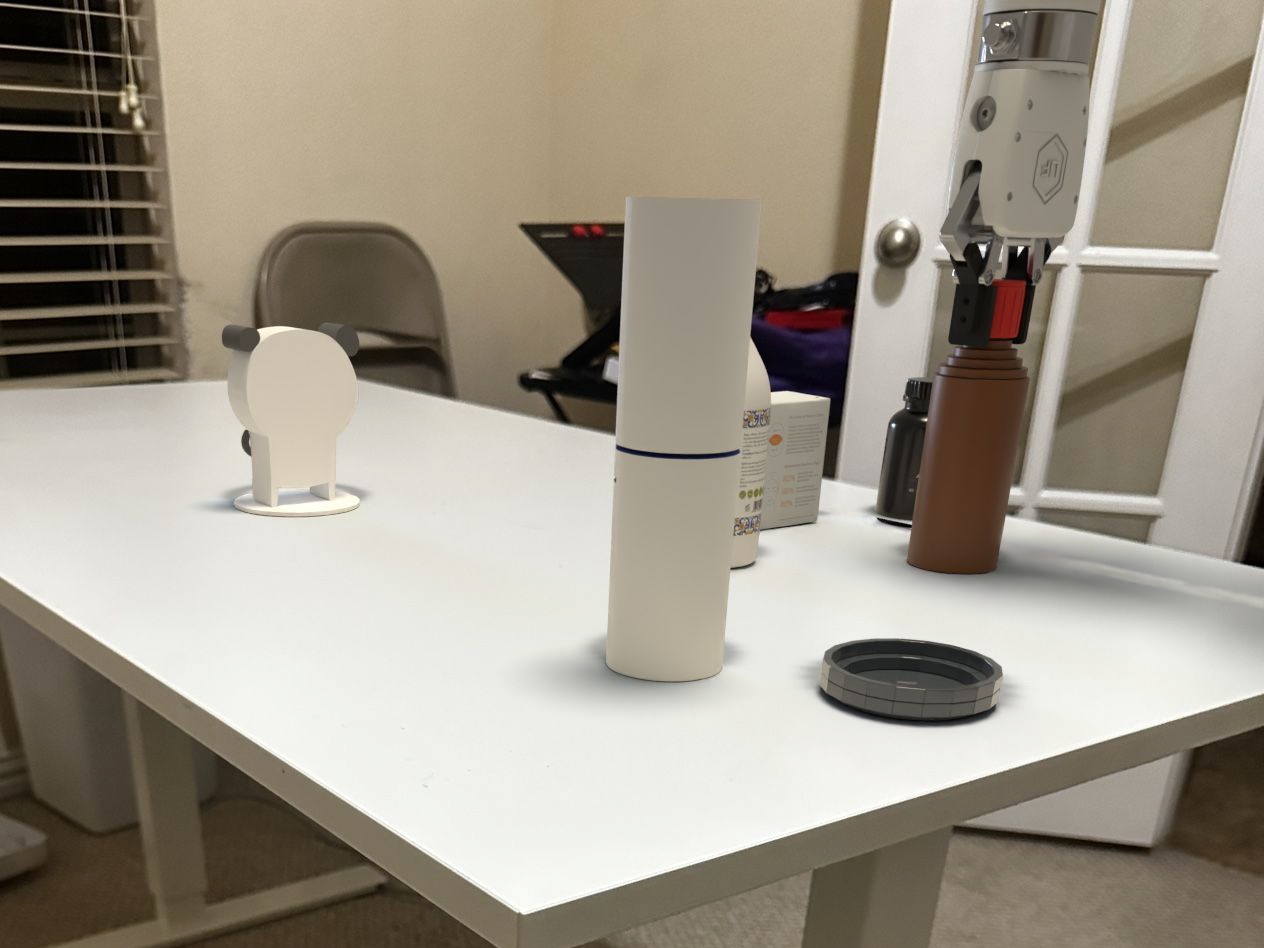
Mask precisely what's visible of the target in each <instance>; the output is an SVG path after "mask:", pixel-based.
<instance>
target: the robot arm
mask: <svg viewBox="0 0 1264 948" xmlns="http://www.w3.org/2000/svg"><path fill="white" fill-rule="evenodd" d="M1101 3H1102V0H984V2H983V6H982V7H983V8H982V15H981V16H982V18H981V21H980V28H979V36H978V44H977V49H976V56H975V64H974V70H973V76H972V79H971V82H970V86H969V89H968V93H967V96H966V100H965V104H964V107H963V113H962V115H961V116H962V117H961V121H960V125H959V130H958V134H957V139H956V144H955V149H954V154H953V160H952V165H951V171H950V177H949V183H948V184H949V185H948V191H947V200H946V211H945V213H946V215H945V220H944V222H943V223H942V226H941V228H940V230H939V234H938V235H939V236H938V237H939V240H940V242H941V244H942V245H943V247H944V248H945V250H946V251H947V253H948V254H949V260H950V262H951V265H952V267H953V271H952V274H951V275H952V276H951V280H952V283H953V284H955V290H954V297H953V304H952V309H951V310H952V311H951V317H950V324H949V330H948V335H947V341H948V343H949V344H950V345H954V346H959V345H963V346H973V347H986V346H987V345H988V343H989V340H990V334H991V328H992V322H993V315H994V309H995V303H996V297H997V290H998V286H990V285H991V284H992V282H993V280H994V279H995V276H996V272H997V269H998V264H999V261H1000V257H1001V269H1000V270H1001V271H1000V279H1006V280H1022V281H1026V285H1025V290H1026V291H1025V297H1024V303H1023V309H1022V314H1021V320H1020V326H1019V332H1018V333H1017V337H1015V338H1008V339H1012V345H1024V344H1025V343H1026V341H1027V339H1028V333H1029V327H1030V322H1031V317H1032V311H1033V305H1034V299H1035V293H1036V288H1037V285H1039V284H1040V283H1041V281H1042V278H1043V273H1044V271H1043V270H1044V266H1046V264H1047V262H1048V261H1049V259H1050V257H1051V255H1052V254H1053V252H1054V251H1055V250H1056V249H1057V248H1058V247H1059V246H1060V245H1061V243H1062V242H1063V241H1064V239H1065V236H1066V235H1067V234H1068V233H1070V231H1072V229H1073V228H1074V225H1075V222H1076V219H1077V218H1076V217H1077V213H1078V206H1079V200H1080V194H1081V187H1082V181H1083V173H1084V164H1085V158H1086V148H1087V142H1088V141H1087V140H1088V131H1089V120H1090V119H1089V118H1090V97H1091V96H1090V95H1091V93H1090V91H1091V89H1090V84H1091V83H1090V79H1091V78H1090V76H1089V70H1090V64H1091V59H1092V53H1093V48H1094V41H1095V37H1096V32H1097V25H1098V20H1099V14H1100V10H1101ZM980 247H985V249H984V252H983V254H982V251H981V249H980ZM1019 247H1021V248H1022V247H1023V248H1022V249H1021V250H1020V252H1019ZM1001 253H1002V254H1001ZM1001 255H1002V256H1001Z"/></svg>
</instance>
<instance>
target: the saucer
mask: <svg viewBox="0 0 1264 948" xmlns="http://www.w3.org/2000/svg"><path fill="white" fill-rule="evenodd" d="M1003 677H1004V673H1003V667H1002V666H1001V665H1000V664H999V663H998V662H996V660H994V659H993V658H991V657H989V656H987V655H985V654H982V653H980V652H977V651H974V650H972V649H968V648H964V647H962V646H958V645H954V644H950V643H949V644H948V643H942V642H938V641H937V642H936V641H929V640H924V639H923V640H922V639H912V638H896V637H895V638H889V637H888V638H879V637H878V638H876V637H875V638H864V639H856V640H849V641H846V642H842V643H837V644H835V645H832V646H831V647H829V648H828V649H826V650H825V651H824V654H823V657H822V666H821V672H820V680H819V685H820V687H821V688H822V690H823V692H825V694H827V695H829V696H830V697H832V698H834V699H836V700H838V701H839V702H840V703H841V704H844V705H846V706H848V707H850V708H853V709H854V710H858V711H861V712H864V713H868V714H872V715H875V716H880V717H886V718H890V719H891V718H893V719H897V720H898V719H899V720H907V721H948V720H956V719H961V718H966V717H969V716H972V715H976V714H979V713H981V712H985V711H988V710H990V709H992V708H993V707H994V706H995V705H996V704H997V703H998V702H999V698H1000V693H1001V687H1002V684H1003V683H1002V682H1003Z"/></svg>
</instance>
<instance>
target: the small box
mask: <svg viewBox="0 0 1264 948" xmlns="http://www.w3.org/2000/svg"><path fill="white" fill-rule="evenodd" d="M830 408H831V398H830V397H824V396H819V395H813V394H806V393H801V392H796V391H789V390H781V391H772V392H771V413H770V424H769V435H768V446H767V457H766V467H765V478H764V489H763V500H762V511H761V522H760V530H759V531H761V530H769V529H773V528H775V529H776V528H782V527H789V526H795V525H802V524H808V523H815V522H817V521H818V519H819V508H820V499H821V490H822V480H823V473H824V465H825V464H824V462H825V453H826V444H827V435H828V425H829V416H830Z"/></svg>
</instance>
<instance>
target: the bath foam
mask: <svg viewBox="0 0 1264 948" xmlns="http://www.w3.org/2000/svg"><path fill="white" fill-rule="evenodd" d="M771 391H772V390H771V384H770V379H769V375H768V372H767V369H766V366H765V364H764V362H763V359H762V357H761V355H760V354H759V351H758V348H757V347H756V344H755V342H754V341H753V339H752V336H750V345H749V357H748V369H747V381H746V393H745V405H744V417H743V429H742V441H741V447H740V448H739V450H740V464H739V476H738V487H737V499H736V510H735V522H734V534H733V545H732V557H731V568H730V569H734V568H742V567H746V566H748V565H750V564H752V563H754V561H756V559H757V557H758V550H759V540H760V539H759V538H760V531H761V530H760V522H761V511H762V500H763V489H764V478H765V467H766V457H767V446H768V435H769V424H770V413H771Z"/></svg>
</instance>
